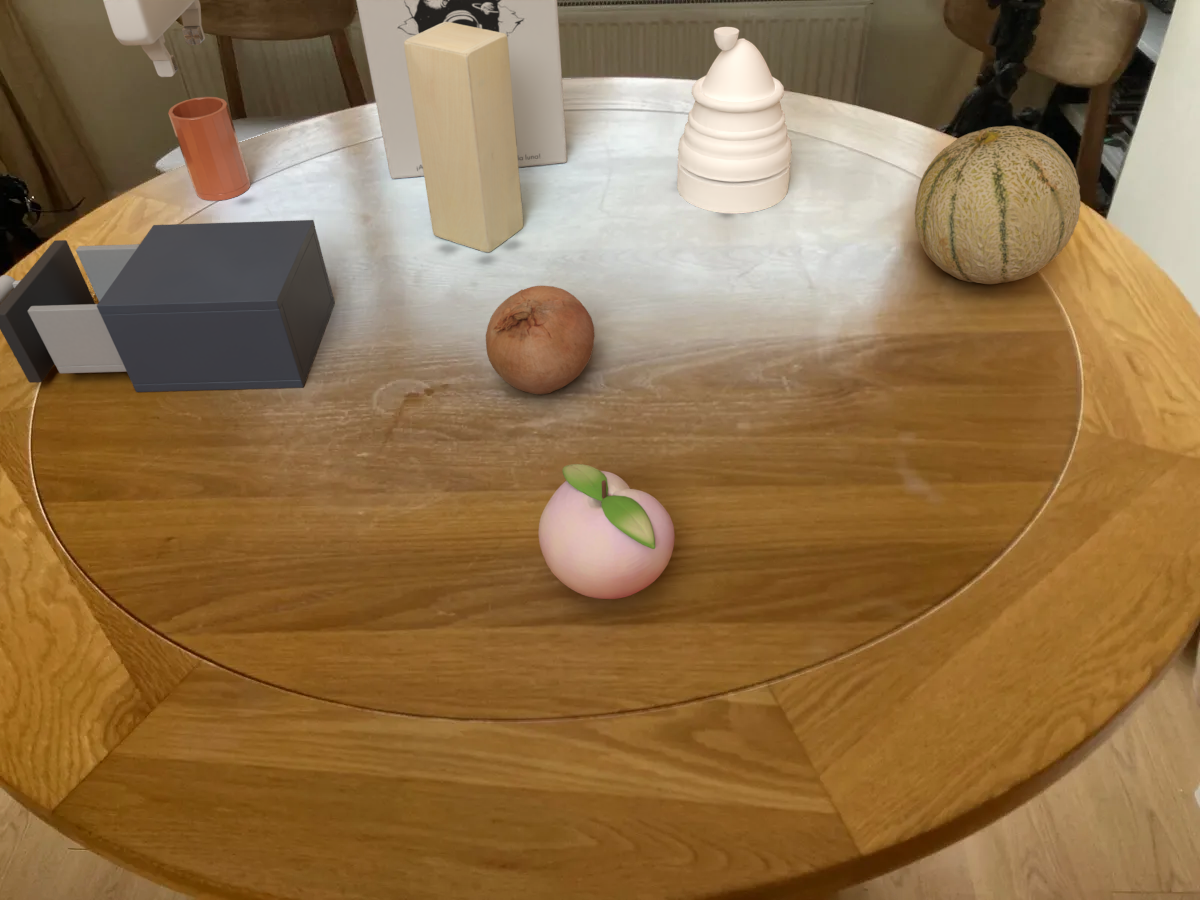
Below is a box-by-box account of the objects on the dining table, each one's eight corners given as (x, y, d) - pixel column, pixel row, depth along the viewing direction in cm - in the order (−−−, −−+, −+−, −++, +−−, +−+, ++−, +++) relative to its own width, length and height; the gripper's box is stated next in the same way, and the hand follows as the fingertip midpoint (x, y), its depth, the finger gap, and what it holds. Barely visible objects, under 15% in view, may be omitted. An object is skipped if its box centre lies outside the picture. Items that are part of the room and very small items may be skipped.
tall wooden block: (530, 224, 107) (511, 30, 93) (490, 254, 103) (464, 54, 89) (473, 208, 110) (448, 18, 96) (432, 236, 106) (399, 41, 92)
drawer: (-21, 384, 87) (-62, 316, 82) (39, 307, 96) (6, 241, 91) (182, 378, 86) (154, 309, 81) (224, 301, 96) (200, 235, 91)
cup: (185, 193, 116) (156, 112, 109) (227, 172, 120) (202, 92, 113) (219, 205, 113) (192, 123, 107) (261, 184, 117) (238, 103, 110)
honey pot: (719, 224, 106) (727, 58, 94) (656, 180, 114) (656, 22, 102) (810, 193, 110) (830, 31, 98) (743, 153, 119) (754, -1, 107)
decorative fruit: (517, 586, 68) (503, 485, 61) (594, 522, 73) (589, 421, 66) (617, 657, 63) (613, 556, 57) (693, 584, 68) (698, 482, 61)
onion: (532, 431, 85) (491, 378, 77) (493, 354, 90) (450, 296, 81) (625, 378, 85) (594, 319, 76) (581, 303, 90) (548, 240, 81)
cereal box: (561, 137, 124) (547, -77, 107) (567, 163, 118) (553, -59, 101) (392, 153, 122) (351, -63, 105) (390, 180, 117) (347, -44, 100)
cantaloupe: (1088, 293, 93) (1141, 146, 83) (960, 327, 90) (999, 177, 80) (992, 224, 104) (1029, 86, 94) (874, 252, 100) (899, 111, 90)
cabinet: (135, 392, 87) (96, 305, 80) (185, 307, 97) (153, 224, 91) (303, 387, 86) (276, 300, 80) (335, 303, 97) (313, 219, 90)
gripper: (130, -53, 89) (180, 94, 98) (199, -107, 104) (236, 25, 114) (64, -50, 89) (120, 96, 99) (141, -104, 105) (184, 28, 114)
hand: (183, 58), depth 106 cm, fingers open, 8 cm apart
